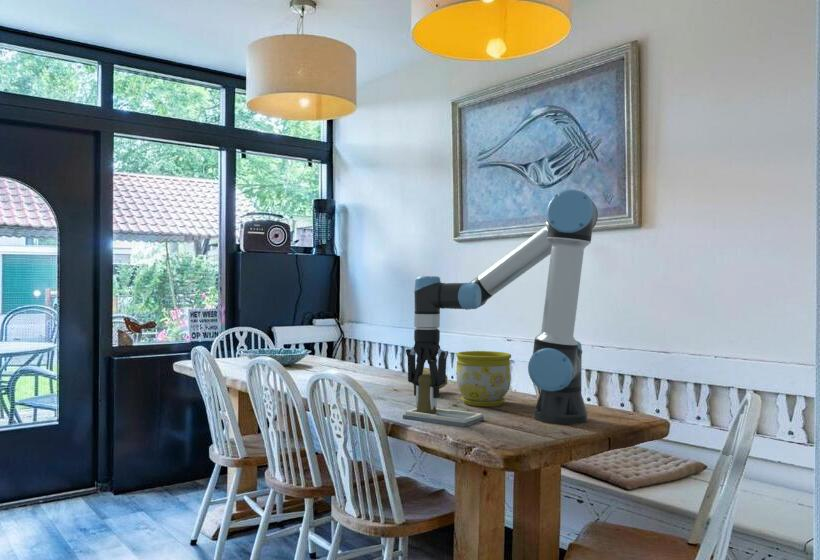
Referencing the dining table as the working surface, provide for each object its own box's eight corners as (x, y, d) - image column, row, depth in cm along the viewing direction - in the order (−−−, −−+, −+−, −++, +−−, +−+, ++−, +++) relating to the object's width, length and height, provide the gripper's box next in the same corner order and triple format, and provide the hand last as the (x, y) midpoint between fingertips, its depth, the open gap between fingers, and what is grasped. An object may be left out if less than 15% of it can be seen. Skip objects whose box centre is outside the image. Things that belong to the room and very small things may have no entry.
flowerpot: (468, 396, 224) (469, 349, 224) (518, 401, 215) (518, 352, 215) (447, 404, 208) (447, 354, 208) (499, 410, 199) (500, 357, 199)
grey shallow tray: (483, 419, 185) (483, 413, 185) (463, 427, 175) (463, 420, 175) (424, 411, 196) (424, 405, 196) (402, 418, 186) (402, 412, 186)
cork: (434, 414, 185) (435, 376, 185) (414, 413, 186) (414, 375, 186) (438, 410, 191) (438, 373, 191) (418, 409, 192) (418, 372, 192)
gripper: (458, 329, 187) (458, 409, 187) (409, 326, 196) (408, 403, 196) (445, 330, 181) (445, 413, 181) (395, 327, 190) (395, 406, 190)
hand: (426, 407), depth 188 cm, fingers closed on cork, 4 cm apart
